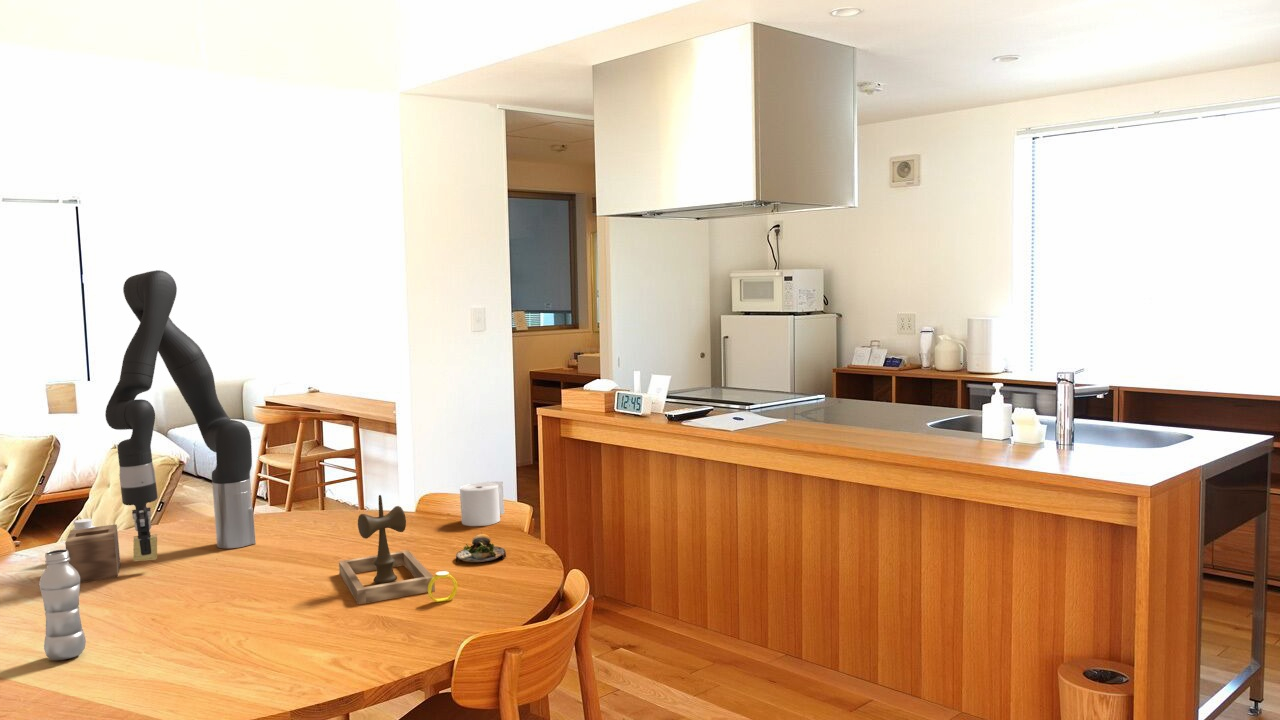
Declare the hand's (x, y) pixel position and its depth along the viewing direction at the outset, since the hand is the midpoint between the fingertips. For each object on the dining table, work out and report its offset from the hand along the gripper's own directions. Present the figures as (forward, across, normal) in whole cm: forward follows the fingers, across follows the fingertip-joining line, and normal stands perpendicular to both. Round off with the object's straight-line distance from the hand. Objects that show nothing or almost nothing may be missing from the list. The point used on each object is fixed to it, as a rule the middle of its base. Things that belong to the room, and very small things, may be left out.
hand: (146, 552), depth 232 cm
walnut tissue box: (+5, +7, +11) cm, 14 cm away
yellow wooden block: (+1, 0, 0) cm, 2 cm away
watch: (+6, -62, -54) cm, 83 cm away
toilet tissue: (+7, -2, -83) cm, 83 cm away
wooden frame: (+6, -42, -47) cm, 63 cm away
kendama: (+6, -42, -47) cm, 63 cm away
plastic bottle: (+4, -53, +14) cm, 55 cm away
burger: (+7, -37, -71) cm, 81 cm away
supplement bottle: (+5, +23, +14) cm, 27 cm away
